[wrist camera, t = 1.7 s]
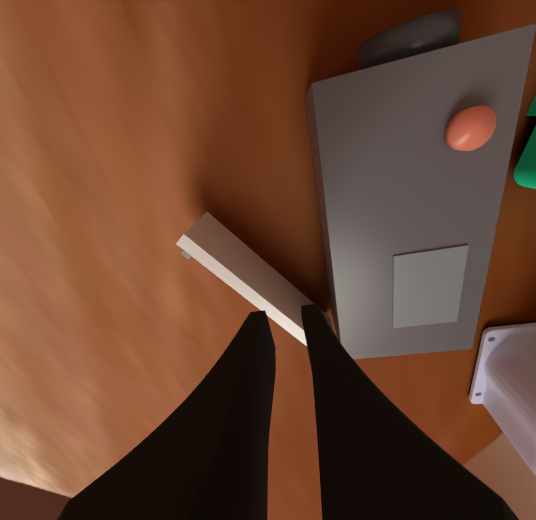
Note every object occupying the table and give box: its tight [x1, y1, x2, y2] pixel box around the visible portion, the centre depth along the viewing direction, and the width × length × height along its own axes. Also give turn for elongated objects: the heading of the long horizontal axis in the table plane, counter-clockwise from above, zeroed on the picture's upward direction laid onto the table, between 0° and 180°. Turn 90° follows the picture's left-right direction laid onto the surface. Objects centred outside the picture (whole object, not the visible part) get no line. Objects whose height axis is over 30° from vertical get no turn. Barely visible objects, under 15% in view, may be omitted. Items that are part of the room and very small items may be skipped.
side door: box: [176, 212, 333, 346], centre depth 18 cm, size 13×2×4 cm, turn 47°
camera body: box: [305, 9, 536, 359], centre depth 15 cm, size 17×8×5 cm, turn 12°
